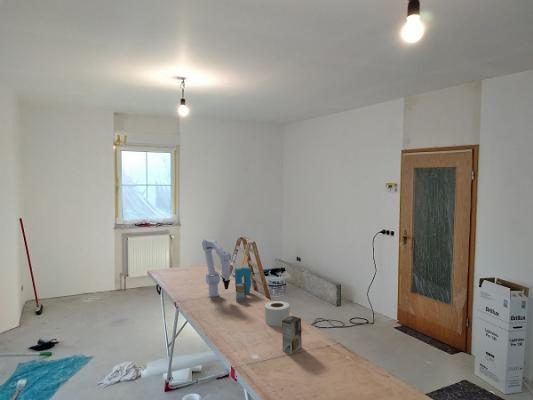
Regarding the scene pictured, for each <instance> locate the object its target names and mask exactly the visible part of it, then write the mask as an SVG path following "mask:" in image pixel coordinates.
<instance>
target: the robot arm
mask: <svg viewBox="0 0 533 400" xmlns="http://www.w3.org/2000/svg"><path fill="white" fill-rule="evenodd" d="M201 243H202V249H203V251H204V254H205V260H206V265H207V271H208V272H207V273H206V274H205V282H206V284H207V285H208V293H207V295H208V298H213V297H215V298H216V297H219V295H220V293H219V283H220V282H221V278H222V283H223V286H224V290H229V285H230V282H231V279H230V277H231V273H230V270H231V269H230V261H231V260H232V259H231V258H232V255H231V253H230V252H227V251H225V249H224V248H223V247H220V246H219V245H218V242H217V239H216V238H215V237H213V238H207V239H203V240H202V242H201ZM213 250H215V253H216V255H217V256H218V257H219V260H220V264H221V275H220V274H219V272H217V271H216V268H215V263H214V258H213V257H214V256H213Z"/></svg>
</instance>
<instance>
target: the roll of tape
mask: <svg viewBox="0 0 533 400" xmlns="http://www.w3.org/2000/svg"><path fill="white" fill-rule="evenodd" d="M290 312H291V311H290V303H288V302H286V301H281V300H278V301H275V300H274V301H269V302H267V303H266V304H265V305H264V319H265V320H264V322H265V324H266V325H268V326H271V327H282V321H283V320H285V319H286V318H288V317H290V315H291V314H290Z"/></svg>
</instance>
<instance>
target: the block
mask: <svg viewBox="0 0 533 400" xmlns="http://www.w3.org/2000/svg"><path fill="white" fill-rule="evenodd" d="M251 270H252V267H250V266H245V267H237V268H234V281H235V282H234V284H235V287H236V284H243V285H244V288H245V295H248V294H250V292H251V291H250V290H251V289H252V288H251V286H252V271H251ZM243 281H244V282H243Z"/></svg>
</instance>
